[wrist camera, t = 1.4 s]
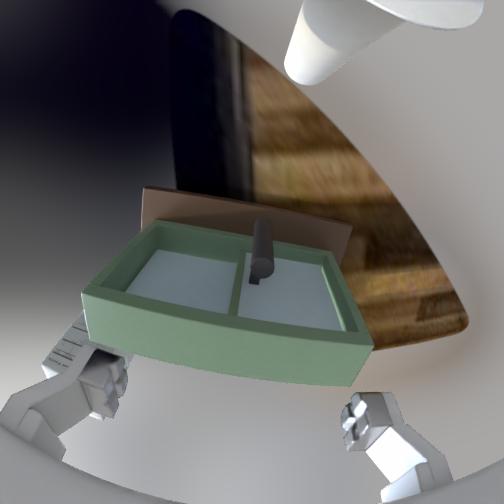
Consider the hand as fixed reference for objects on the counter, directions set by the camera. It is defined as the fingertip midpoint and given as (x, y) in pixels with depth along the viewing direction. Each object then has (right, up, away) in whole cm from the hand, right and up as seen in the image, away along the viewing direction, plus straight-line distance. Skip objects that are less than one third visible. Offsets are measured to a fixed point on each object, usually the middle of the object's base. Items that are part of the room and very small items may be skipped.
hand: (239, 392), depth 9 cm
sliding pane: (+4, +6, +18) cm, 19 cm away
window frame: (-1, +5, +21) cm, 22 cm away
